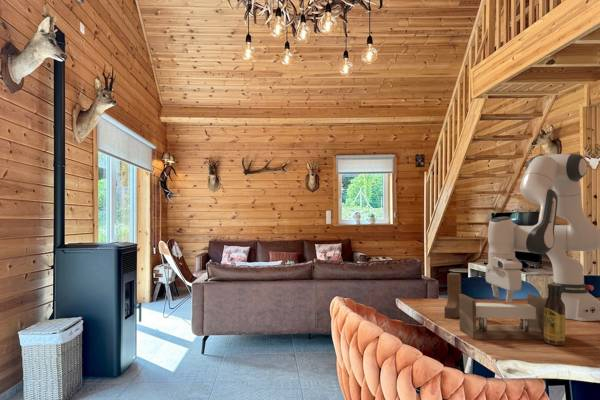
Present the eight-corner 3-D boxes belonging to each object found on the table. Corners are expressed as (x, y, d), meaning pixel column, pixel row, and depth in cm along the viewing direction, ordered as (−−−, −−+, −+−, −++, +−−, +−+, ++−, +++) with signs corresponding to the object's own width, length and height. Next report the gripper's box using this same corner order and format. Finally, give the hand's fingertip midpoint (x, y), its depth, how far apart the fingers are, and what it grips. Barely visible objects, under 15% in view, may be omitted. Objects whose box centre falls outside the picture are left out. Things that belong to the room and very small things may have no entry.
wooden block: (455, 319, 175) (454, 275, 176) (444, 317, 178) (443, 274, 178) (461, 315, 182) (460, 273, 183) (451, 313, 185) (450, 272, 185)
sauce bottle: (539, 340, 144) (538, 282, 145) (556, 340, 144) (555, 282, 145) (552, 346, 137) (551, 285, 138) (570, 346, 138) (569, 285, 139)
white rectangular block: (529, 315, 154) (529, 304, 154) (535, 319, 148) (535, 307, 148) (472, 313, 157) (471, 302, 157) (476, 317, 151) (476, 305, 151)
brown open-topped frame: (531, 329, 158) (530, 293, 158) (550, 339, 146) (549, 300, 146) (459, 329, 158) (459, 293, 158) (472, 339, 146) (472, 300, 146)
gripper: (480, 258, 164) (481, 293, 163) (506, 264, 143) (507, 305, 143) (497, 258, 163) (497, 293, 163) (524, 264, 143) (525, 305, 143)
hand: (502, 299), depth 153 cm, fingers open, 8 cm apart
